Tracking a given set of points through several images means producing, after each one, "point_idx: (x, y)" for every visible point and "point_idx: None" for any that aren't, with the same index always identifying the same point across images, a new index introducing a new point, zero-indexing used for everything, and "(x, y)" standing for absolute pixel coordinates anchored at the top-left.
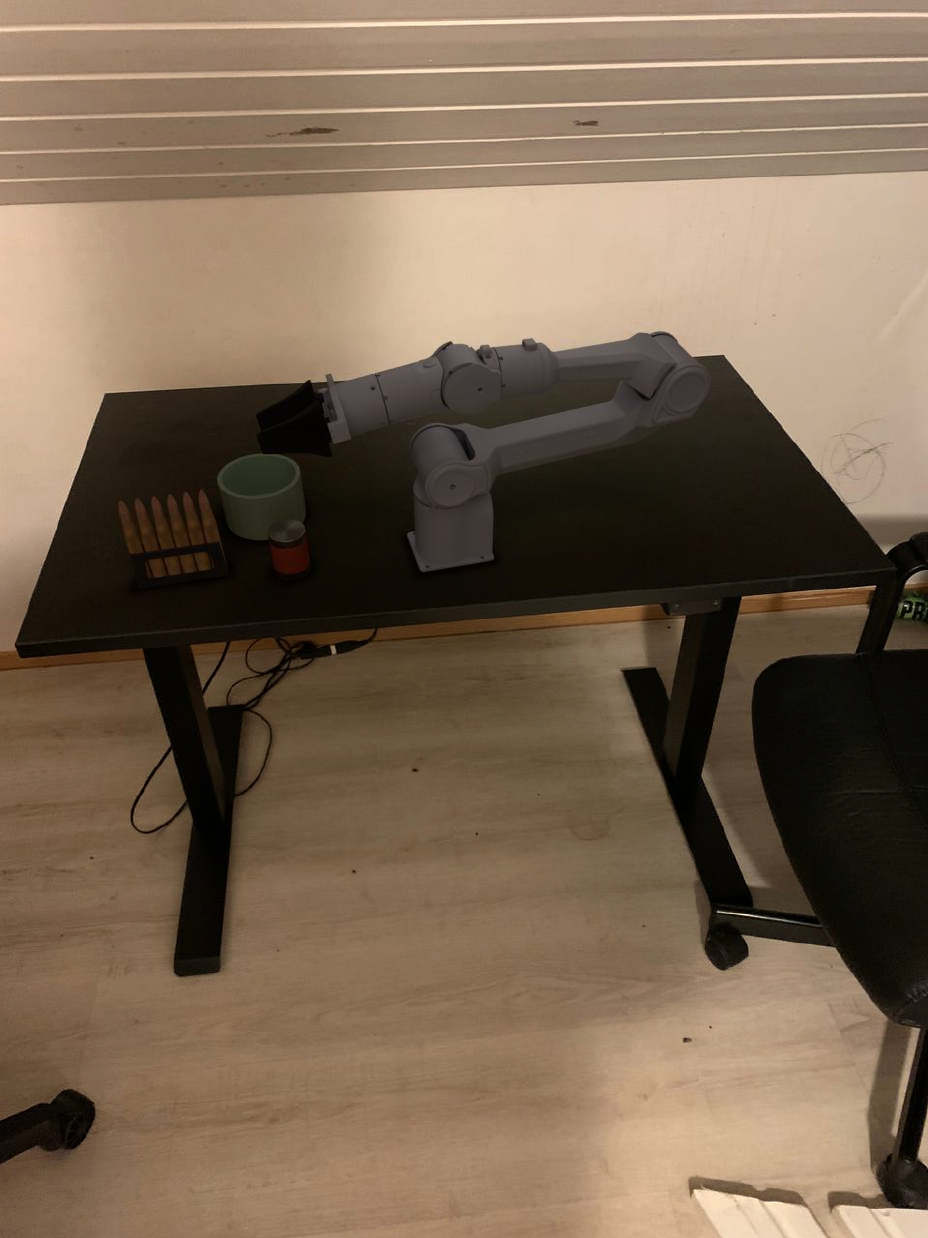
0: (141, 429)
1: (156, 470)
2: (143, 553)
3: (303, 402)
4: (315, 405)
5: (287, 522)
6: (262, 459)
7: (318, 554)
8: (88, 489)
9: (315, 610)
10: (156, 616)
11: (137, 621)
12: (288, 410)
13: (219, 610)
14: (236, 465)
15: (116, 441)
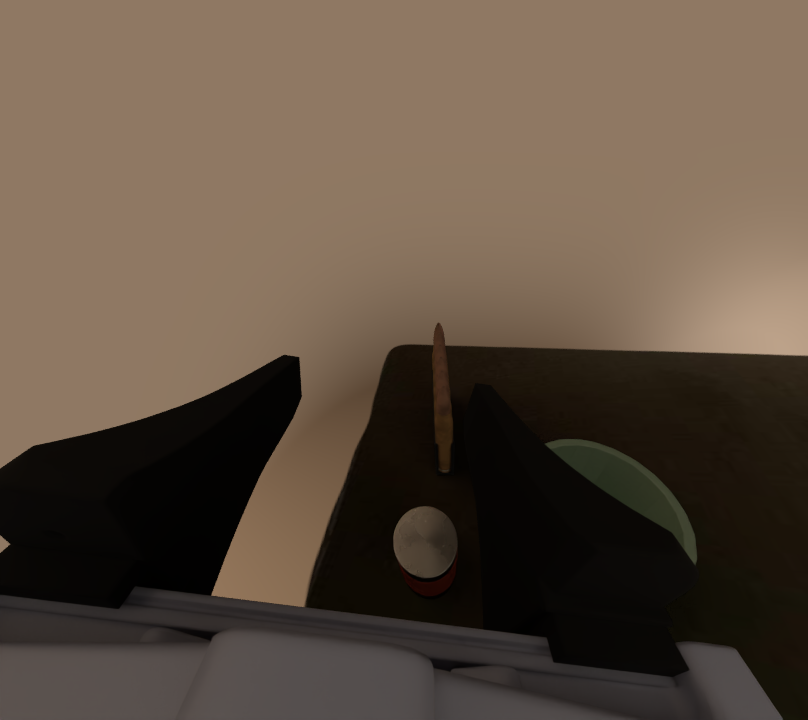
0: (761, 384)
1: (660, 402)
2: (432, 378)
3: (518, 520)
4: (20, 462)
5: (447, 544)
6: (671, 519)
7: (461, 622)
8: (600, 353)
9: (327, 588)
10: (389, 411)
11: (388, 398)
12: (497, 466)
13: (377, 463)
14: (632, 470)
15: (713, 365)
